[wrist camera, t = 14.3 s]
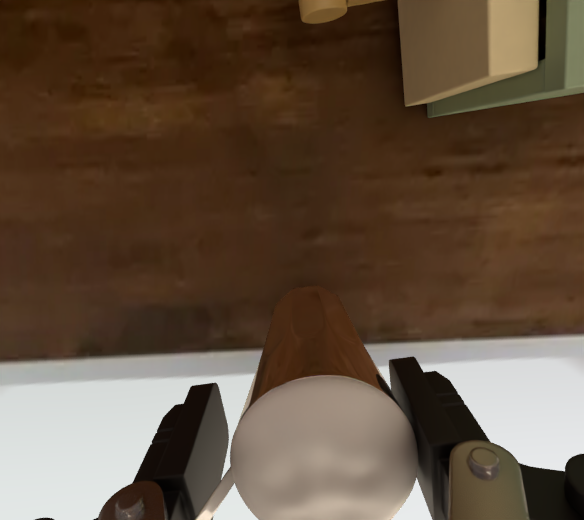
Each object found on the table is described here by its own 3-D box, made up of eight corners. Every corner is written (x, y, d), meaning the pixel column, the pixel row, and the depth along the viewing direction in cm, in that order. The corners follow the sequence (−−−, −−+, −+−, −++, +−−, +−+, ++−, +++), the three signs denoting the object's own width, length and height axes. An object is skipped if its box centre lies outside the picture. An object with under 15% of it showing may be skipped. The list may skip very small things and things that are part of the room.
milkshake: (231, 280, 17) (148, 464, 7) (356, 263, 16) (445, 429, 7) (249, 372, 18) (200, 634, 8) (365, 358, 18) (452, 609, 8)
